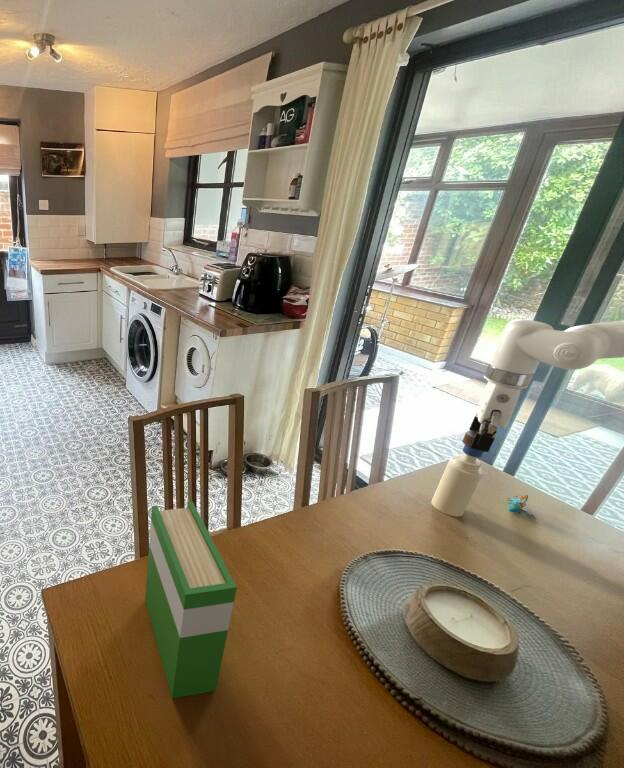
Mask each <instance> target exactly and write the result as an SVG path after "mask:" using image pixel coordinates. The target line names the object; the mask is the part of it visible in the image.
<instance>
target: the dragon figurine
mask: <svg viewBox="0 0 624 768" xmlns="http://www.w3.org/2000/svg"><path fill="white" fill-rule="evenodd" d="M514 497H515V498H510V499H511V500H512V501H509V500H507V504H510V505H509V506H508V508H507V511H508V512H510V513H513V512H514V513H513V514H518V515H521V514H526V515H527V516H531V517H533V518H534V517H536V516H535V515H534V514H533V513H531V512H529V511H526V510H524V509H523V508H524V507H525V506H526V505H527V504H526V502H527V501H528V498H529V495H528V494H524V496H523V495H520V498H517V497H519V494H517V495H516V496H514Z"/></svg>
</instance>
